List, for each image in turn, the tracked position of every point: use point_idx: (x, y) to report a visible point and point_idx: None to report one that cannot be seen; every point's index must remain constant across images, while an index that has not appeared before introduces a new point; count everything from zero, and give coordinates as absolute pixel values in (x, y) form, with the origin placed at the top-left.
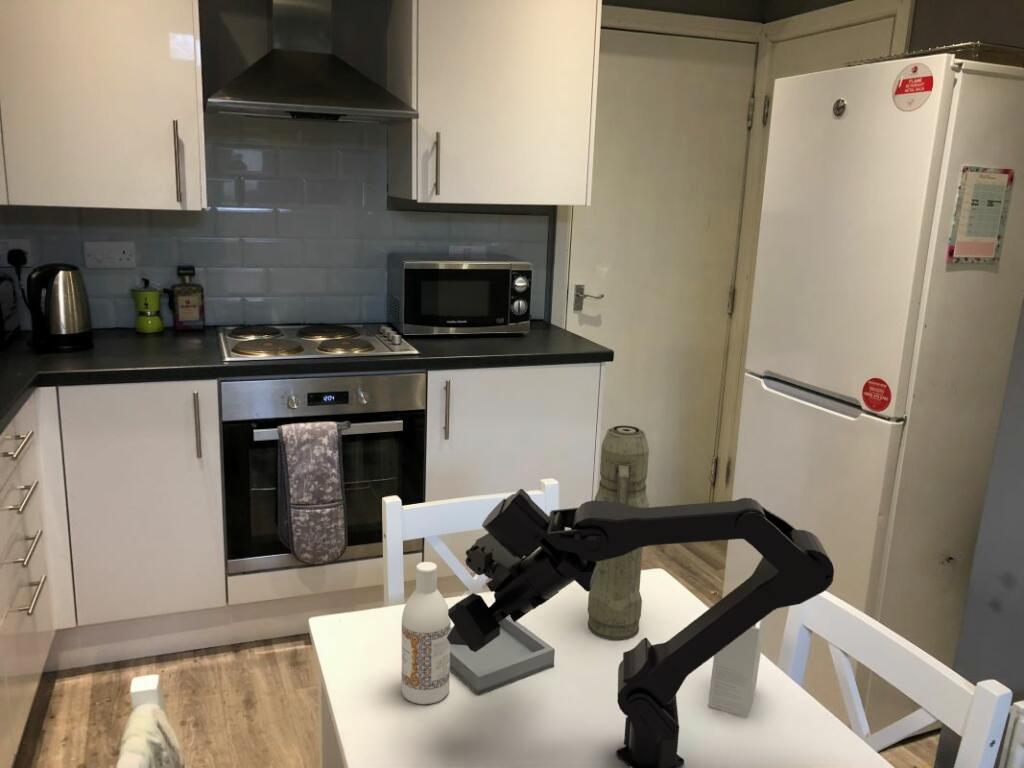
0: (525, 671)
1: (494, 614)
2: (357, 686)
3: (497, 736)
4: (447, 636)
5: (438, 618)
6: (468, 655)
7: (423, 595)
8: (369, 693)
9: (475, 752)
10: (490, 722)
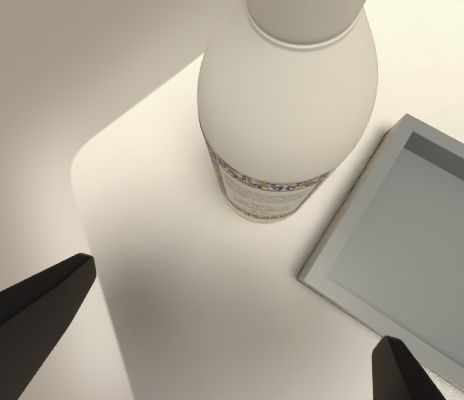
0: None
1: (376, 379)
2: None
3: (192, 363)
4: (69, 258)
5: (239, 149)
6: (403, 209)
7: (243, 18)
8: None
9: (136, 340)
10: (227, 333)
